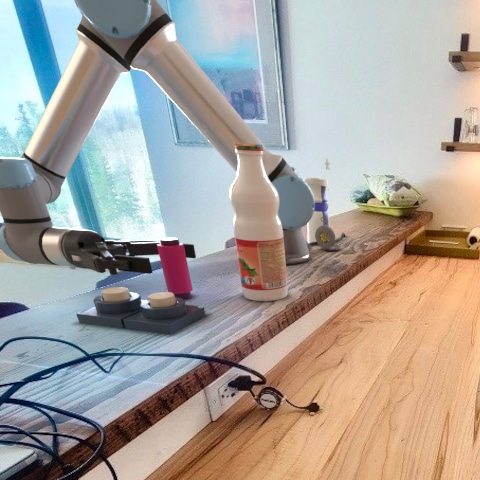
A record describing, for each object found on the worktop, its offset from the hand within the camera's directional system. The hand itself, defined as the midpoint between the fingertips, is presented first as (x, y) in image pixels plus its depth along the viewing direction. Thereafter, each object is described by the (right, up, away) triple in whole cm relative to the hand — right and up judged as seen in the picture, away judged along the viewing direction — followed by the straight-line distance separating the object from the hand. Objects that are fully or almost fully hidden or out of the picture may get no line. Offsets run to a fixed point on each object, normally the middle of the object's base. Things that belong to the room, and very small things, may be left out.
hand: (173, 258), depth 83 cm
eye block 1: (-6, -13, -7) cm, 15 cm away
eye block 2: (+3, -14, -8) cm, 16 cm away
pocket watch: (+22, +19, +51) cm, 59 cm away
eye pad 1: (-5, -10, -8) cm, 14 cm away
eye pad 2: (+3, -11, -9) cm, 15 cm away
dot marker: (0, -7, +4) cm, 8 cm away
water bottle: (+17, +25, +60) cm, 68 cm away
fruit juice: (+16, -6, +8) cm, 19 cm away
